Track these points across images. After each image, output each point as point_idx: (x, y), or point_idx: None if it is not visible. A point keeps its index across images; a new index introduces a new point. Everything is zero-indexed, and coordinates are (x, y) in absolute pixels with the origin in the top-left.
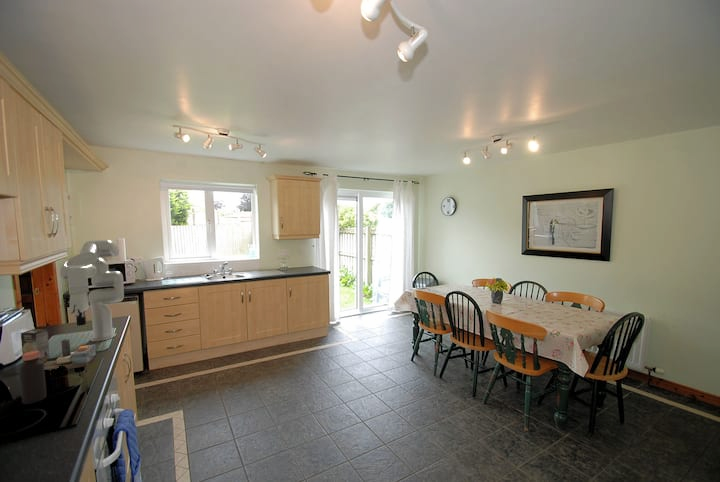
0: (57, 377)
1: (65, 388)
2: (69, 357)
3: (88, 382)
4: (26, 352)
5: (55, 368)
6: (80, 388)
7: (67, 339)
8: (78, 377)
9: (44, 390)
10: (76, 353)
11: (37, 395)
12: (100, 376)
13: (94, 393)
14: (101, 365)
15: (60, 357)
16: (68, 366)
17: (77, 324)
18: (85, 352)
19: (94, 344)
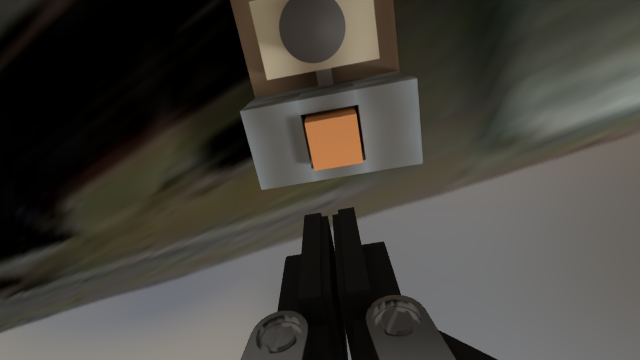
0: (151, 86)
1: (41, 198)
2: (267, 79)
3: (92, 256)
4: None
5: (234, 13)
6: (43, 253)
7: (330, 37)
8: (141, 191)
9: None
10: (257, 134)
11: None
12: (142, 272)
13: (12, 314)
14: (261, 223)
15: (280, 9)
16: (251, 80)
17: (306, 227)
18: (262, 184)
19: (417, 160)
